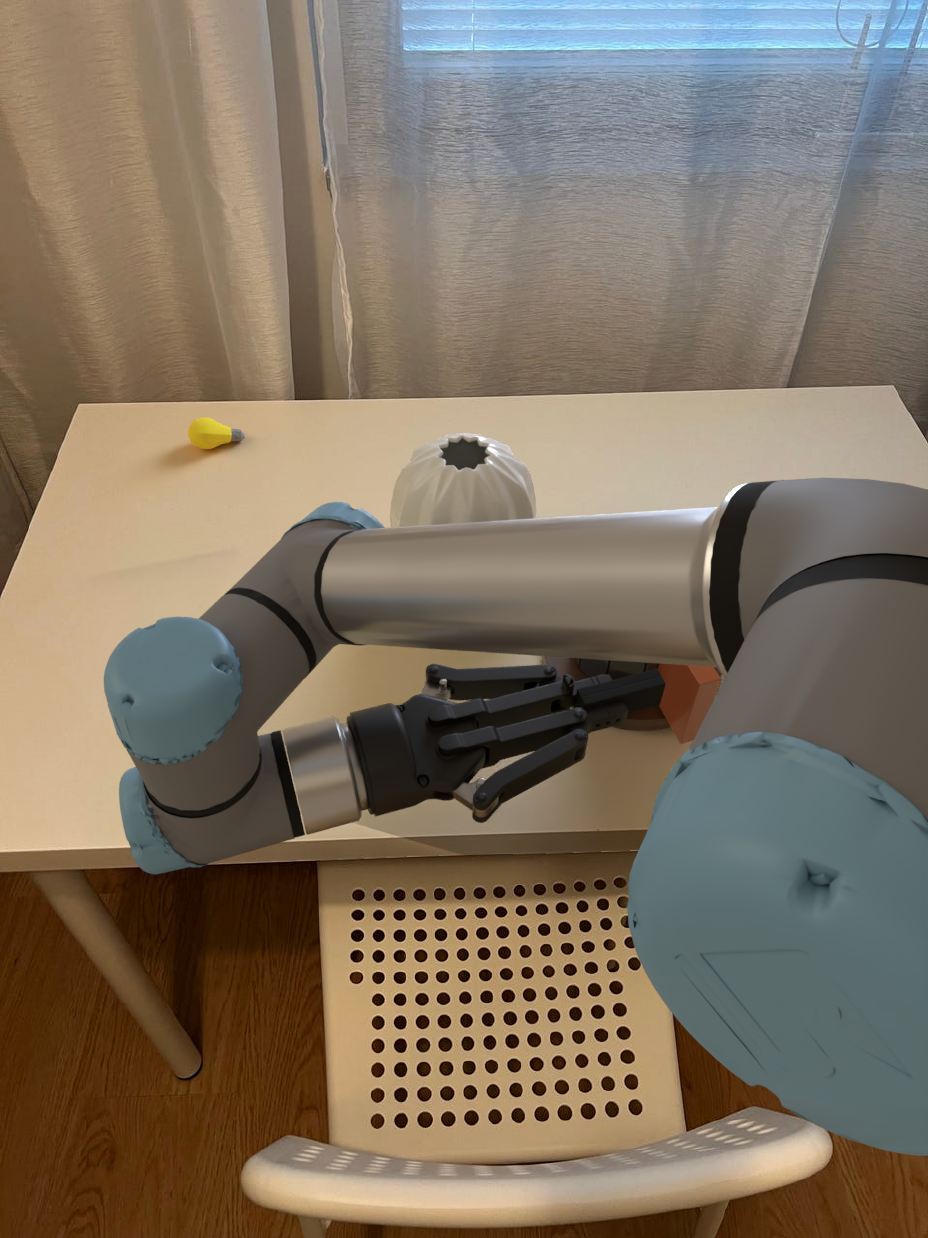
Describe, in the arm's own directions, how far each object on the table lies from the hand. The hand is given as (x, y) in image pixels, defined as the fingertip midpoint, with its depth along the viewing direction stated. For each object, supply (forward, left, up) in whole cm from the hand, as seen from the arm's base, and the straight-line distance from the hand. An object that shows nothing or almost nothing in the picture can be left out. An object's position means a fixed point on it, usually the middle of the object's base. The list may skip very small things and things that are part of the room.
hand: (658, 687), depth 71 cm
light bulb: (+52, -26, -9) cm, 58 cm away
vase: (+21, -17, -9) cm, 28 cm away
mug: (+2, -8, -7) cm, 11 cm away
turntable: (+3, -10, -9) cm, 13 cm away
